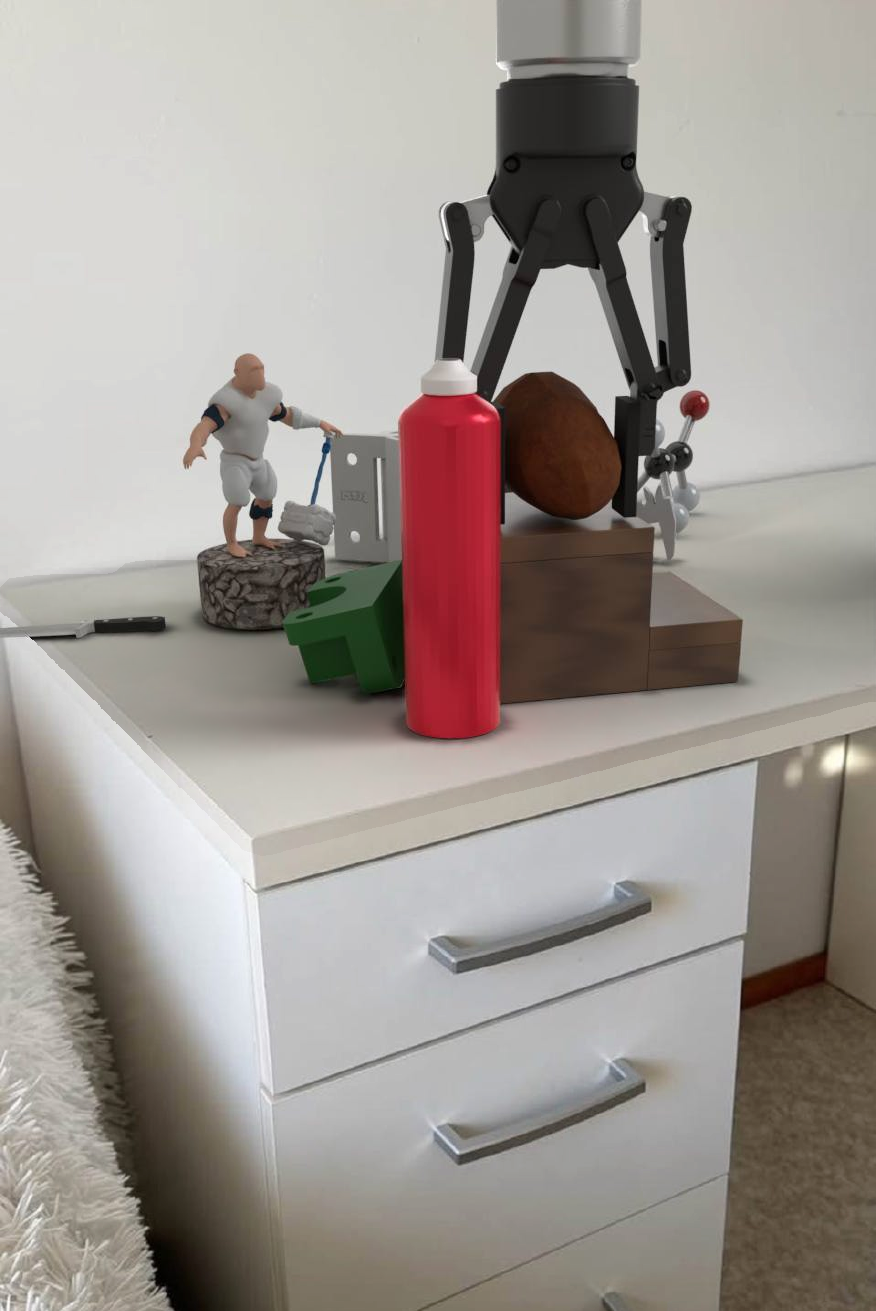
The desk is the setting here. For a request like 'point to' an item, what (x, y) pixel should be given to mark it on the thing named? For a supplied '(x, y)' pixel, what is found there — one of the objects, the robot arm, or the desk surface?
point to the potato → (557, 447)
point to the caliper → (659, 516)
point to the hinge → (366, 496)
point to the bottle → (451, 554)
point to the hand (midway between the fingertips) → (559, 515)
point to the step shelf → (601, 611)
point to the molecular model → (677, 459)
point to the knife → (87, 627)
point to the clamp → (353, 628)
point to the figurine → (258, 508)
